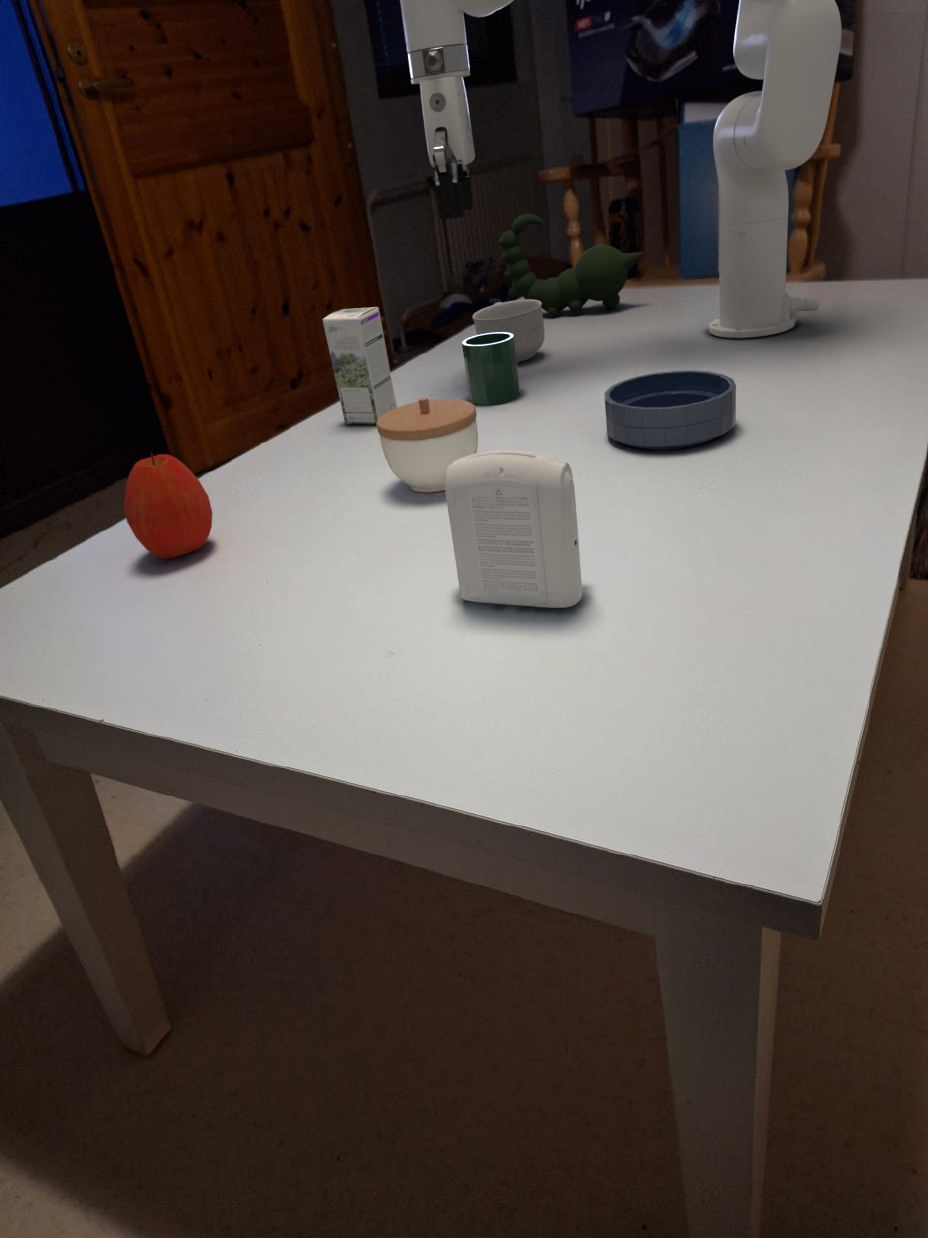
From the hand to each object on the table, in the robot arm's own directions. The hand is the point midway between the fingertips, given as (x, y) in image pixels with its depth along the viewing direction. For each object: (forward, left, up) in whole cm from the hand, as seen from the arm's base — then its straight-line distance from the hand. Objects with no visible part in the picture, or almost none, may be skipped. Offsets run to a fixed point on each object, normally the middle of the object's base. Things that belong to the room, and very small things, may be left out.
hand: (457, 213), depth 121 cm
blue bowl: (-25, +30, -23) cm, 45 cm away
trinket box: (+1, +39, -23) cm, 46 cm away
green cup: (-3, +8, -23) cm, 25 cm away
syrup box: (+14, +12, -23) cm, 30 cm away
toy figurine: (-14, -42, -23) cm, 50 cm away
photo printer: (-10, +67, -23) cm, 72 cm away
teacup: (-4, -14, -23) cm, 27 cm away
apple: (+26, +52, -23) cm, 63 cm away
